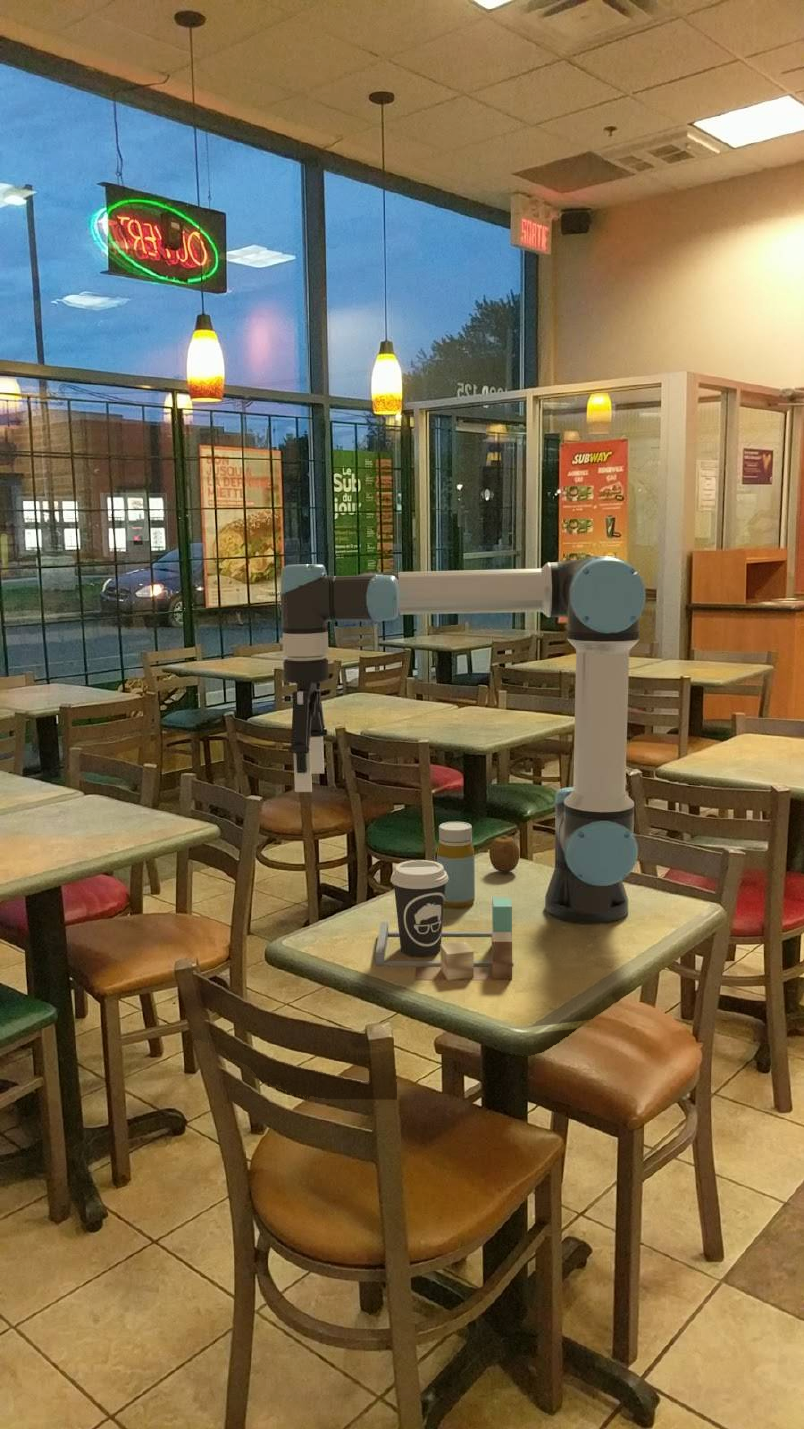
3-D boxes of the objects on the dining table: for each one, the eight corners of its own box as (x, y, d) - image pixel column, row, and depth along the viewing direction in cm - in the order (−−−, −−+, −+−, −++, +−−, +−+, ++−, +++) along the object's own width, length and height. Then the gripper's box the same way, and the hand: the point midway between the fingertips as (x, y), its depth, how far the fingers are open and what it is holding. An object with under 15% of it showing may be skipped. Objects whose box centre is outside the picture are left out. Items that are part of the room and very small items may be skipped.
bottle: (481, 900, 201) (480, 823, 198) (463, 911, 195) (462, 832, 192) (449, 894, 204) (448, 819, 202) (430, 904, 199) (429, 827, 196)
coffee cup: (456, 946, 178) (455, 861, 176) (439, 968, 169) (438, 878, 167) (402, 940, 181) (401, 856, 179) (383, 961, 172) (382, 873, 170)
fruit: (520, 868, 219) (520, 831, 218) (518, 878, 213) (518, 839, 212) (490, 867, 220) (490, 830, 219) (487, 876, 214) (487, 838, 213)
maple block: (466, 966, 168) (466, 941, 167) (473, 977, 164) (473, 951, 163) (440, 969, 167) (440, 944, 166) (447, 980, 163) (447, 954, 162)
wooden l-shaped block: (510, 971, 167) (510, 930, 166) (512, 984, 162) (512, 942, 161) (416, 971, 168) (415, 930, 167) (415, 984, 163) (414, 942, 162)
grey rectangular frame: (508, 938, 181) (508, 888, 180) (513, 970, 168) (513, 916, 166) (381, 938, 182) (380, 888, 181) (375, 970, 169) (374, 916, 167)
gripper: (296, 650, 188) (300, 766, 192) (268, 667, 164) (274, 799, 167) (338, 649, 188) (341, 766, 191) (316, 666, 163) (320, 799, 166)
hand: (310, 782), depth 179 cm, fingers open, 13 cm apart
